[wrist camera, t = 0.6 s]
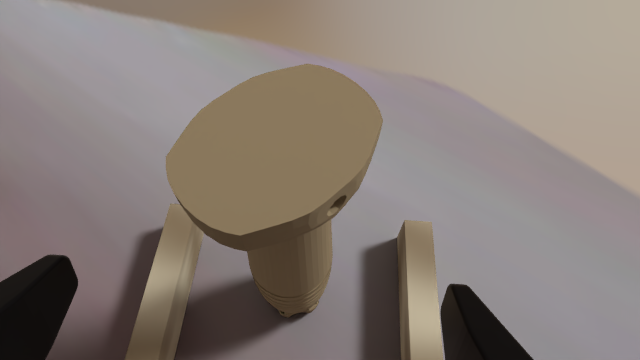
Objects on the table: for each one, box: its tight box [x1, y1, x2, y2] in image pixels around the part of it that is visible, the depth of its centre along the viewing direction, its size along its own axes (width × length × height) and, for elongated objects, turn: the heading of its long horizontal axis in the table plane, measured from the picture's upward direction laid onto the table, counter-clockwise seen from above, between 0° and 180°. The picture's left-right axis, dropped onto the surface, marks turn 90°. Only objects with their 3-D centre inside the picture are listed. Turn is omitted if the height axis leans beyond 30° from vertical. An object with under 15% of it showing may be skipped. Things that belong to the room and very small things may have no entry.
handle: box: [166, 64, 383, 318], centre depth 18 cm, size 5×6×15 cm
